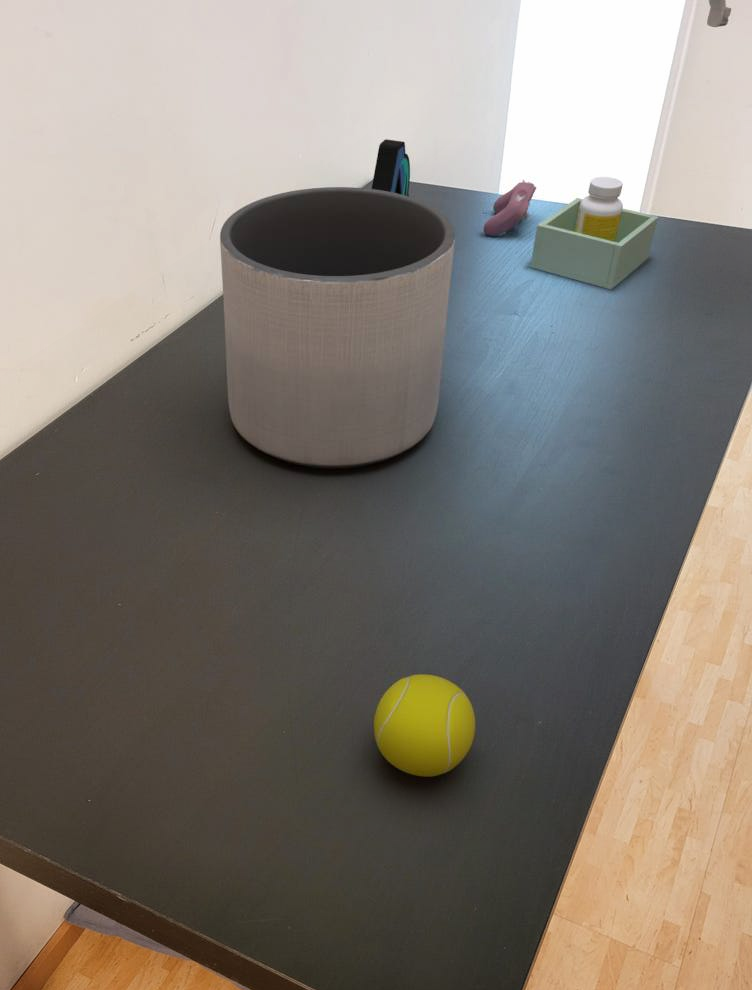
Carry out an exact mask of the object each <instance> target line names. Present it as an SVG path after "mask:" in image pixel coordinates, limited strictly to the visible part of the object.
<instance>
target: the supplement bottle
mask: <svg viewBox="0 0 752 990" xmlns="http://www.w3.org/2000/svg"><path fill="white" fill-rule="evenodd" d="M623 183H624V182H623V181H621V180H620V179H618V178H615V177H612V176H611V177H610V176H598V177H594V178H592V179H591V180H590V183H589V187H588V191H587V192H588V195H587V196H585V197H583V198H582V199H583V200H582V201H581V203H580V207H579V212H578V217H577V222H576V226H575V231H574V232H577V233H581V234H585V235H589V236H593V237H597V238H601V239H605V240H609V241H613V242H615V239H616V235H617V231H618V226H619V222H620V218H621V214H622V209H624V204H623V202H622V201H621V199H619V197H621V193H622V189H623V185H624V184H623Z"/></svg>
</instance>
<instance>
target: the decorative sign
mask: <svg viewBox="0 0 752 990" xmlns="http://www.w3.org/2000/svg"><path fill="white" fill-rule="evenodd" d="M372 178H373V179H372V184H371V189H375V190H382V191H388V192H393V193H397V194H401V195H405V196H408V197H410V193H409V192H410V182H411V181H410V180H411V163H410V157H409V155H408V153H406V143H405V141H401V140H394V139H387V138H385V139H383V141H382V142H380V143H379V146H378V151H377V157H376V162H375V167H374V173H373V177H372Z"/></svg>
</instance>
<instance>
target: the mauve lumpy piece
mask: <svg viewBox="0 0 752 990" xmlns="http://www.w3.org/2000/svg"><path fill="white" fill-rule="evenodd" d="M536 190H537V187H536V186H535V184H534V183H533V182H530V181H527V182H526V181H525V179H523V180H522V181H521V182H518V183H517V184H516V185H515V186H514V187H512V189H510V190H509V191H507V192H505V193H504V194H502V195H500V196H499V197H498V198H497V199H496V200H495V202H494V203H493V206H492V208H493V209H492V210H493V211H494V213H495V215H493V216H492V217H490V218H489V219H488V220H487V221H486V222H485V223H484V225H483V232H484V234H485V235H486V236H490V237H492V236H499V235H502V234H504V233H505V232H507V231H509V232H511V231H512V230H513V229H514V228H515V227H516V226H517V225H518V224H519V222H520V221H522V220H523V221H527V219H528V218H529V216H530V212H528V210H529V207H530V205H531V202H530V201H531V200H532V198H533V196H534V194H535V192H536Z"/></svg>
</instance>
